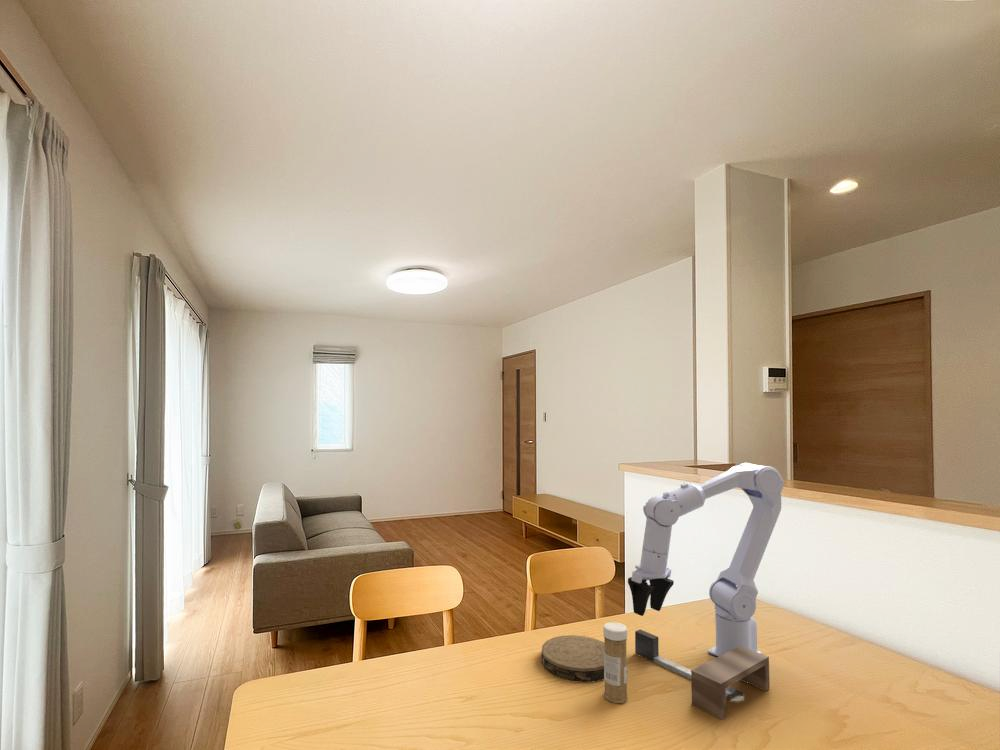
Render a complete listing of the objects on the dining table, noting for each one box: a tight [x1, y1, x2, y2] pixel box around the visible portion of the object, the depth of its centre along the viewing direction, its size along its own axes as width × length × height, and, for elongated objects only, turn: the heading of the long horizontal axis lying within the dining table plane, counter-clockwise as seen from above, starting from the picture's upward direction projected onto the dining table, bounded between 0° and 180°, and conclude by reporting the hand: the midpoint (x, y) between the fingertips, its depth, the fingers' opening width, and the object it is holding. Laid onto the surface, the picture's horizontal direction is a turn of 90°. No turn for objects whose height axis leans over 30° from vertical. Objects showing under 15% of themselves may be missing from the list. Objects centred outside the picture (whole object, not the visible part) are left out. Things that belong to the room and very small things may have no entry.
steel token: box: [726, 686, 745, 703], centre depth 100 cm, size 4×4×1 cm
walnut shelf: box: [690, 646, 771, 720], centre depth 101 cm, size 18×6×6 cm, turn 127°
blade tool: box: [634, 629, 692, 681], centre depth 112 cm, size 18×5×5 cm, turn 37°
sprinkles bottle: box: [602, 621, 629, 704], centre depth 100 cm, size 5×5×13 cm
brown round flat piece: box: [541, 634, 605, 683], centre depth 113 cm, size 16×16×3 cm
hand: (647, 611), depth 116 cm, fingers open, 7 cm apart
